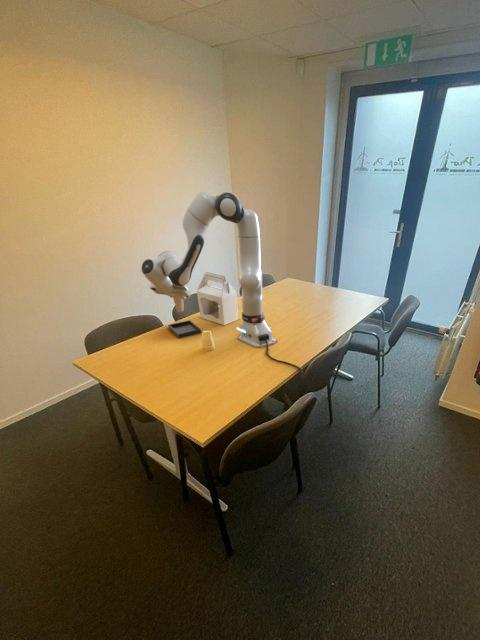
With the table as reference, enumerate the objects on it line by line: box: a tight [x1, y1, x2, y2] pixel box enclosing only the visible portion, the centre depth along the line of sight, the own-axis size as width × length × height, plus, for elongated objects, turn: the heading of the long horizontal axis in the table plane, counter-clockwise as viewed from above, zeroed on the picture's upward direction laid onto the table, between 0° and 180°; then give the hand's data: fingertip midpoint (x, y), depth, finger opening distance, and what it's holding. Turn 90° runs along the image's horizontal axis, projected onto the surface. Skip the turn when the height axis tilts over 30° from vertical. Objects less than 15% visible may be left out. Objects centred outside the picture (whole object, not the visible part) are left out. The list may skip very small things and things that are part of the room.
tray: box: [167, 319, 202, 339], centre depth 176 cm, size 17×14×2 cm
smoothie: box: [172, 296, 185, 313], centre depth 167 cm, size 6×6×14 cm
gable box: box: [196, 271, 239, 326], centre depth 186 cm, size 22×13×28 cm, turn 55°
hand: (178, 297), depth 167 cm, fingers closed on smoothie, 6 cm apart
